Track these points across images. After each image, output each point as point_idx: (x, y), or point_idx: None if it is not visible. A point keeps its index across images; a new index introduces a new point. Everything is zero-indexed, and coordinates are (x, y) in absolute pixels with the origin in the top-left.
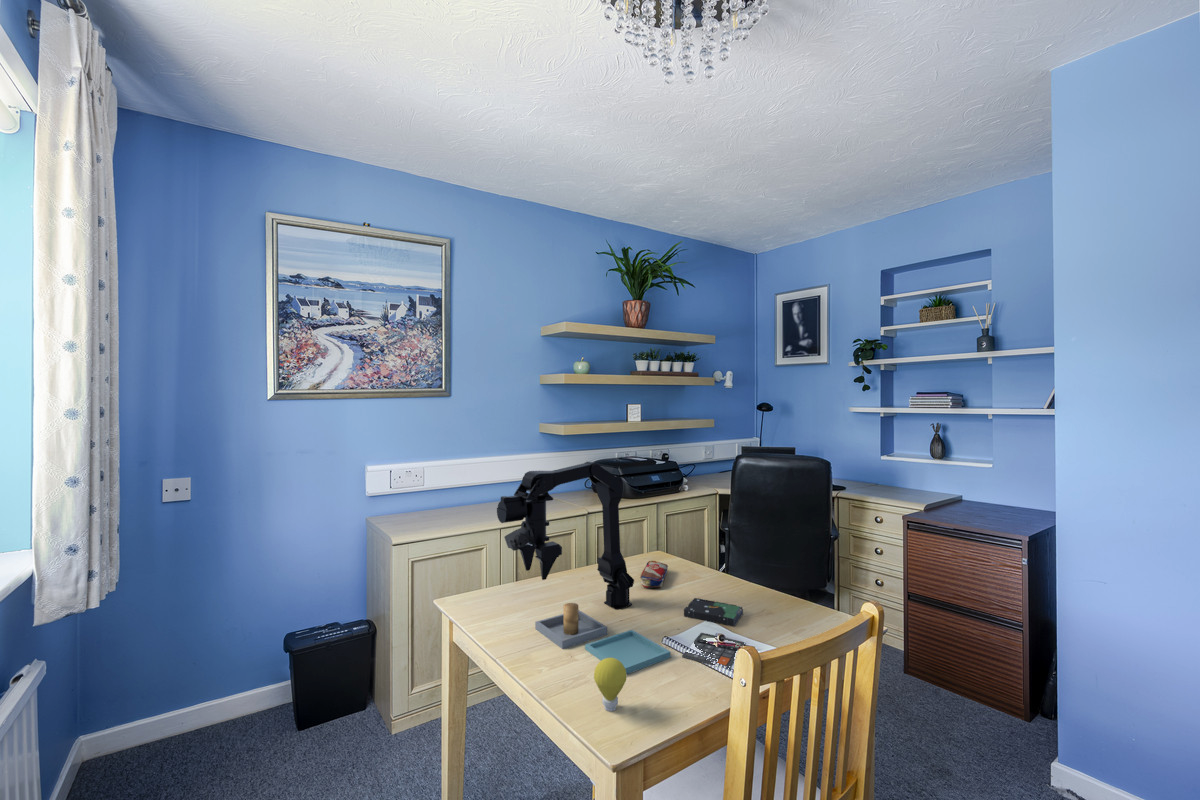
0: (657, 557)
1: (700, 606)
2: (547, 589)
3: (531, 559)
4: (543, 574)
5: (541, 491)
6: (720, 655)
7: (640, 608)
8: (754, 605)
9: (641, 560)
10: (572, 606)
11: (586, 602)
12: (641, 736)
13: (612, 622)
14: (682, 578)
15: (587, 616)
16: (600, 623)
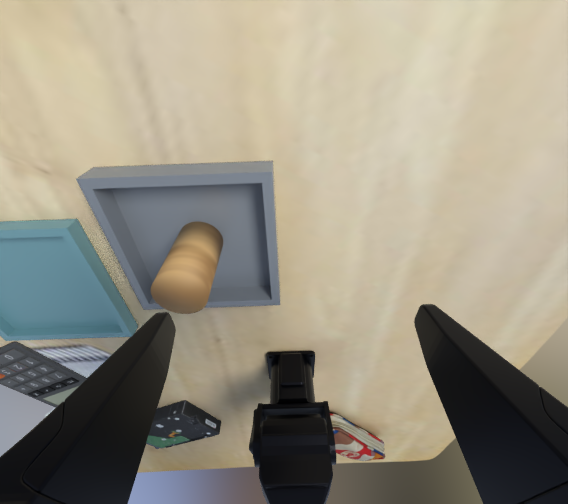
0: (416, 454)
1: (182, 427)
2: (491, 305)
3: (451, 410)
4: (121, 353)
5: None
6: (11, 377)
7: (251, 378)
8: (182, 450)
9: (428, 442)
10: (170, 296)
11: (346, 332)
12: None
13: (216, 325)
14: None
15: (227, 303)
16: None
